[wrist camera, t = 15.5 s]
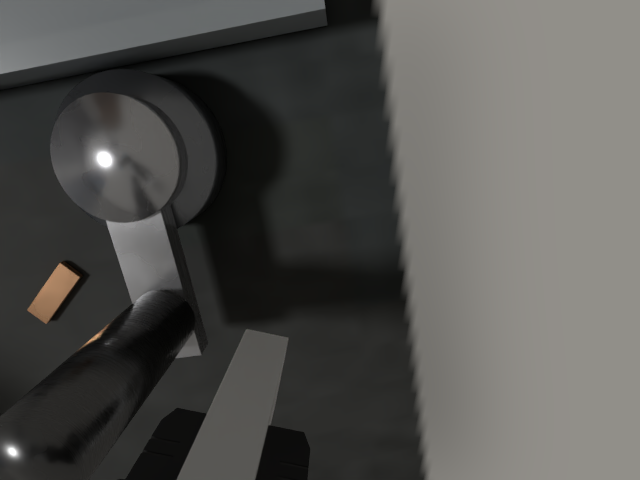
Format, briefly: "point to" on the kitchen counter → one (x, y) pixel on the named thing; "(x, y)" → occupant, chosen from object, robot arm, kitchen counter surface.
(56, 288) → the crank base
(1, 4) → the tray
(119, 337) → the crank
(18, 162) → the kitchen counter surface
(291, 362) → the kitchen counter surface
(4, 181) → the kitchen counter surface
